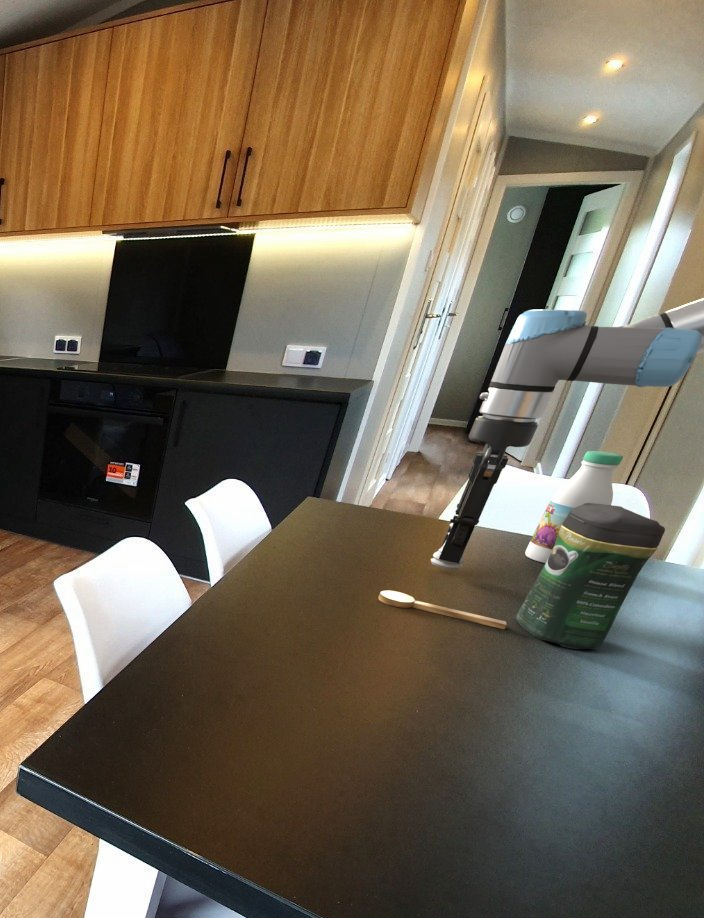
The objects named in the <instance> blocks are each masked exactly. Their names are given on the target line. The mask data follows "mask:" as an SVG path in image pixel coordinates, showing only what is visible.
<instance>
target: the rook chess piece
mask: <svg viewBox="0 0 704 918" xmlns="http://www.w3.org/2000/svg"><path fill="white" fill-rule="evenodd" d="M455 520H456V519H455ZM452 525H453V523H450V524H449V527H451V528H452ZM449 533H450V532H449ZM449 533H448V535H449ZM445 542H446V541H445ZM444 545H445V543H444ZM444 545H443V546H442V545H441V546H442V547H441V546H440V548H439V549H438V550H437V551H434V553H433V554H432V556H433V557H432V558H430V562H431V564H432V565H433V566H435V567H439V568H440V569H441V568H442V569H446V570H452V571H455V570H457V571H458V570H459V569H461V568H463V564H462V563H464V562H465V557H464V553H463V555H462V557H461V560H460V562H459V563H454V562H449V561H444V560H439V557H440V554H441V552H442V549H443V547H444Z"/></svg>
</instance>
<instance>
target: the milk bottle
mask: <svg viewBox="0 0 704 918" xmlns="http://www.w3.org/2000/svg"><path fill="white" fill-rule="evenodd" d="M623 459H624V456H623V455H622V454H619V453H614V452H608V451H600V450H599V451H598V450H588V451H586V452H585V454H584V455H583V458H582V460H581V463H580V464H581V466H580V468H579V469H578V470H577V471H576V472H575V473H574V475H572V476H571V477H570V478H569V479H568V480H567V481H565V482H564V483H563V484H562V485H561V486H559V488H557V490H556V491H555V492H554V493H553V495H552V497H551V499H550V500H549V503H548V504H547V506H546V508H545V510H544V512H543V514H542V517H540V520H539V523H538V525H537V526H536V529H535V530H534V533H533V534H532V537H531V539H530V541H529V543H528V545H527V547H526V549H525V556H526V557H527V558H529V559H531V560H534V561H536V562H540V563H543V564H545V563H546V561H547V559H548V558H549V556H550V554H551V552H552V550H553V548H554V545H555V543H556V540H557V537H558V534H559V530H560V528H561V525H563V524H562V523H563V522H564V520H565V519H566V517H567V516H568V514H569V512H570V511H571V510H572V509H573V508H575V507H577V506H580V505H583V504H584V503H596V504H604V505H612V503H613V500H614V499H613V498H614V490H613V475H614V472H615V471H616V469H619V465H621V463H622V461H623Z"/></svg>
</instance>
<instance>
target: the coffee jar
mask: <svg viewBox="0 0 704 918" xmlns="http://www.w3.org/2000/svg"><path fill="white" fill-rule="evenodd" d="M562 524H563V525H561V528H560V530H559V534H558V537H557V540H556V543H555V545H554V548H553V550H552V552H551V554H550V556H549V558H548V559H547V561H546V563H544V565H543V567H542V568H541V571H540V572H539V574H538V576H537V578H536V580H534V583H533V585H532V587H531V589H530V590H529V592H528V593H527V595H526V597H525V599H524V600H523V602H522V604H521V606H520V608H519V610H518V612H517V614H516V616H515V619H516V621H517V623H518V624H519V625H520V626H521V627H522V628H523V629H524V630H525V631H526V632H528V633H529V634H530V635H532V636H533V637H535V638H536V639H539V640H541V641H546V642H549V643H550V642H551V643H553V644H556V645H558V646H560V647H563V648H568V649H573V650H574V649H575V650H584V649H586V650H587V649H590V650H591V649H598V648H600V647H601V646H602V645H603V643H604V641H605V640H606V637H607V636H608V634H609V633H610V632H609V631H610V630H611V628H612V626H613V624H614V622H615V620H616V618H617V616H618V614H619V612H620V610H621V608H622V606H623V604H624V602H625V600H626V598H627V596H628V593H629V592H630V590H631V589H632V587H633V585H634V583H635V581H636V579H637V577H638V576H639V574H640V572H641V571H642V569H643V567H644V566H645V564H646V563H647V562H648V560H650V558H651V557H652V556H653V555H654V554H655V552H656V551H657V550H658V549H659V546H660V543H661V541H662V539H663V536H664V534H665V531H666V528H665V527H664V526H663V525H661V524H660V523H659V521H658V520H654V519H651V518H649V517H646V516H643V515H641V514H639V513H637V512H634V511H631V510H629V509H627V508H624V507H623V506H620V505H613V504H611V505H604V504H596V503H584V504H583V505H580V506H577V507H575V508H573V509H572V510H571V511H570V512H569V514H568V516H567V517H566V519H565V520H564V522H563V523H562Z"/></svg>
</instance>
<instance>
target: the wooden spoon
mask: <svg viewBox="0 0 704 918" xmlns="http://www.w3.org/2000/svg"><path fill="white" fill-rule="evenodd" d="M378 600H379V601H380V602H381V603H382V604H383V603H384V604H386V605H388V606H392V607H395V608H401V609H410V608H413V609H417V610H421V611H426V612H429V613H434V614H438V615H442V616H447V617H450V618H454V619H458V620H463V621H467V622H471V623H476V624H480V625H483V626H488V627H492V628H497V629H500V630H506V628H507V626H508V624H507V623H508V622H507V621H505V620H501V619H497V618H492V617H488V616H484V615H480V614H475V613H471V612H467V611H463V610H458V609H454V608H451V607H450V608H449V607H446V606H441V605H436V604H433V603H428V602H424V601H419V600H416V599H415V598H414V597H413V596H412V595H409V594H406V593H403V592H400V591H397V590H396V591H395V590H382V591H380V592H379V595H378Z"/></svg>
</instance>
